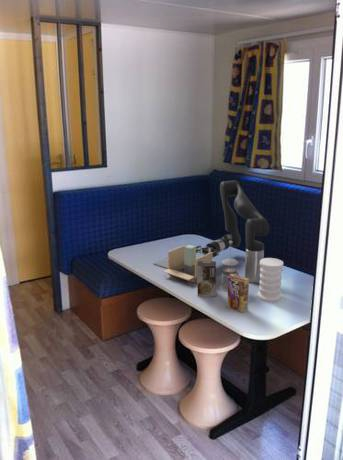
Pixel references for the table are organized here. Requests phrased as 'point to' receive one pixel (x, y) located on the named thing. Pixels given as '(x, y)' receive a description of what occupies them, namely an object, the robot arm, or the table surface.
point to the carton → (178, 263)
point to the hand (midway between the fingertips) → (197, 254)
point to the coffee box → (206, 278)
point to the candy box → (238, 292)
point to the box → (189, 259)
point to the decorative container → (270, 280)
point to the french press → (228, 270)
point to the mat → (162, 263)
